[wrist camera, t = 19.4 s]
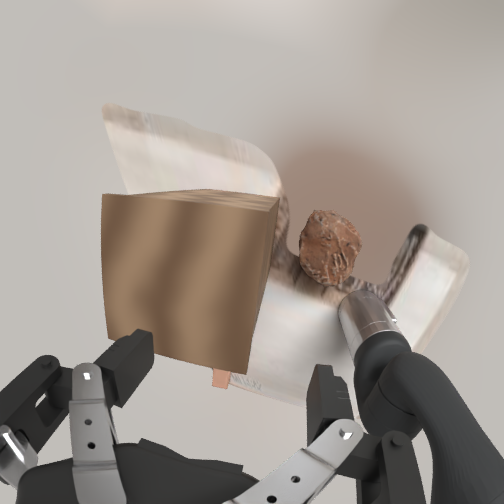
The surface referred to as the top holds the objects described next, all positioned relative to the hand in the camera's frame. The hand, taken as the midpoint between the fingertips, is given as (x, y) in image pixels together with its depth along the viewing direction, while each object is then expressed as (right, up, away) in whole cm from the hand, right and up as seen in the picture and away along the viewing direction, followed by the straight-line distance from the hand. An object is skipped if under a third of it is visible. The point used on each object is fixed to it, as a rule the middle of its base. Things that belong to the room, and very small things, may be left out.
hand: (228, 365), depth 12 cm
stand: (-1, +10, +42) cm, 43 cm away
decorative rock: (+15, +7, +40) cm, 44 cm away
